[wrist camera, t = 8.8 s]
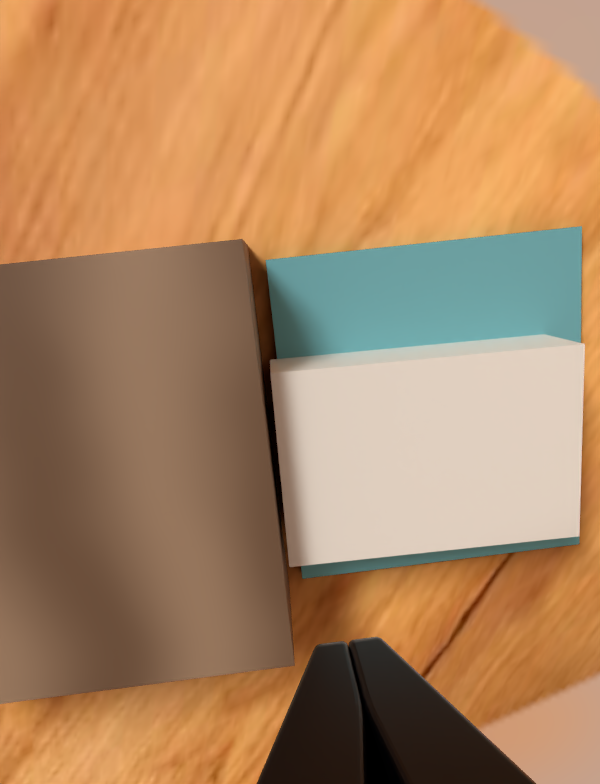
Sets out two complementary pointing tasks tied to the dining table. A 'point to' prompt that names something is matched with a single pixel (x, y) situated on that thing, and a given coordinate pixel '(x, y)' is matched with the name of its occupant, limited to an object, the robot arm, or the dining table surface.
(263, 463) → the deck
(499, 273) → the mat
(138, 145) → the dining table surface
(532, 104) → the dining table surface
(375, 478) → the light grey block
